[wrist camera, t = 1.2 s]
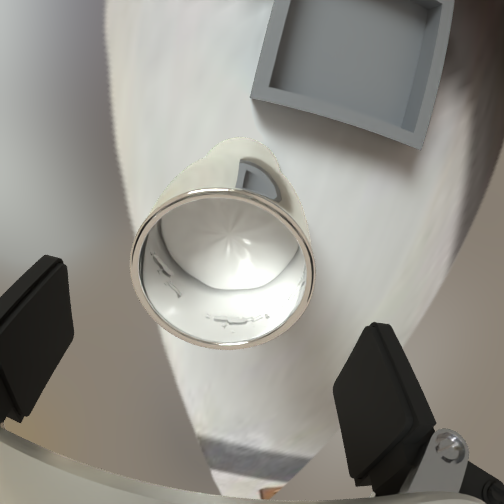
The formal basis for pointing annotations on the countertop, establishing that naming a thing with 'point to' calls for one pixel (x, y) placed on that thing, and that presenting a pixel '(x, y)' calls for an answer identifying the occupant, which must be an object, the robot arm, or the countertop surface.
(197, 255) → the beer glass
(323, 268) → the countertop surface
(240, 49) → the countertop surface
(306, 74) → the tray
